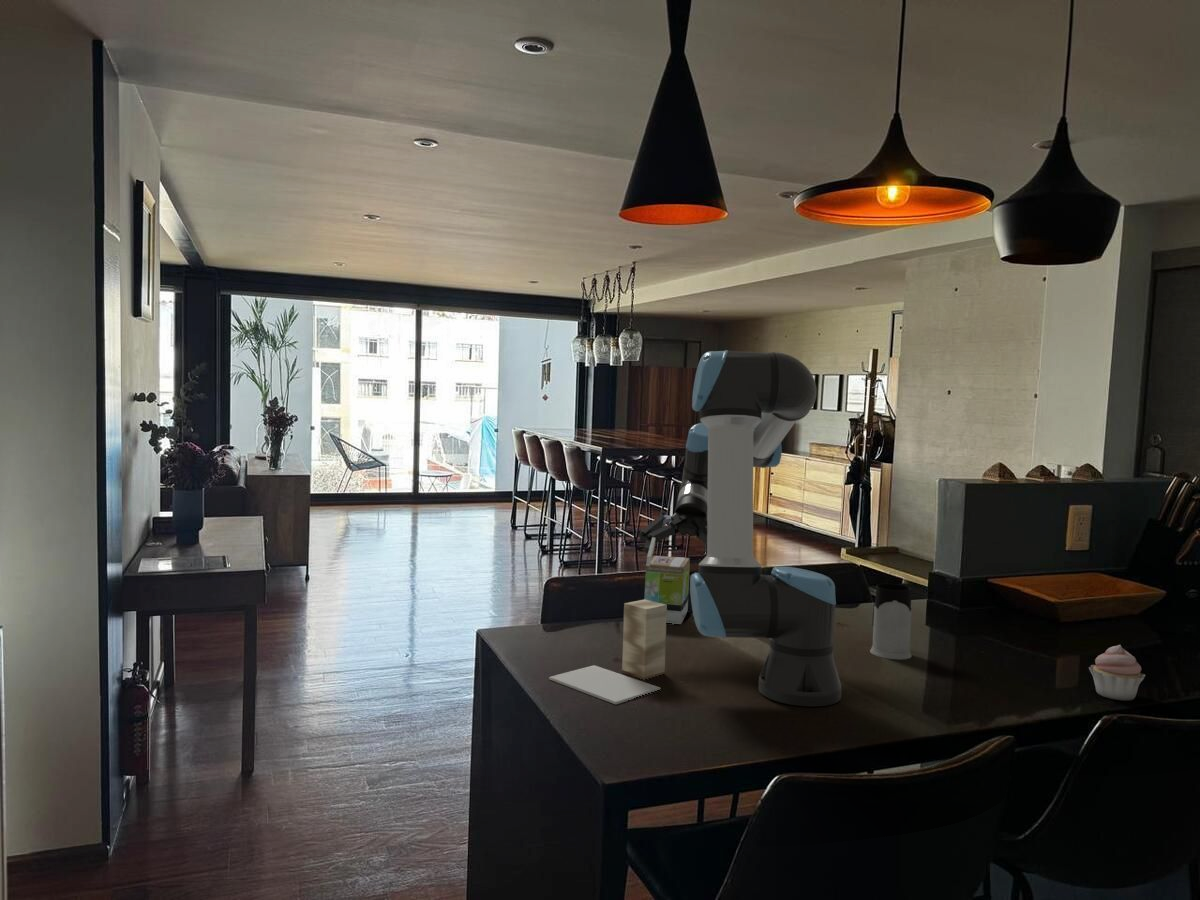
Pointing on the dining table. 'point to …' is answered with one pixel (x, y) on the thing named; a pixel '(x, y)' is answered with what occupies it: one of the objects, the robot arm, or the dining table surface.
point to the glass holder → (892, 622)
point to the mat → (604, 684)
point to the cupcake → (1116, 674)
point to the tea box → (669, 585)
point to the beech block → (644, 639)
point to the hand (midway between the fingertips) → (679, 567)
